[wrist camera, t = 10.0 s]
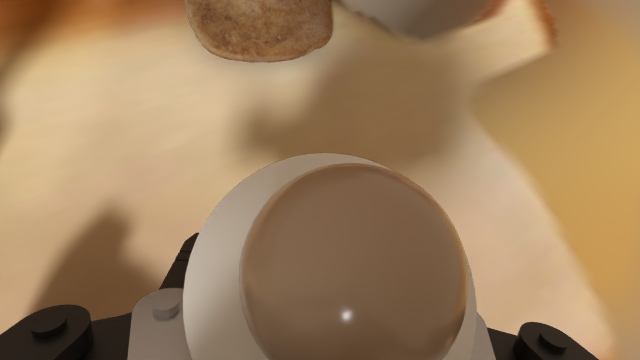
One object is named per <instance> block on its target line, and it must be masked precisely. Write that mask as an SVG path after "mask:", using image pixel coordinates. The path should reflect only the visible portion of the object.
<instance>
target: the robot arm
mask: <svg viewBox="0 0 640 360" xmlns="http://www.w3.org/2000/svg"><path fill="white" fill-rule="evenodd" d="M198 235H199V233H196V234H194V235H193V236H191V237H190V238H189V239H187V240H186V241H185V242H184V244H183V246H182V248H181V250H180V253H178V255H177V257H176V259H175V261H174V263H173V264H172V266H171V268H170V270H169V272H168V274H167V276H166V277H165V279H164V281H163V283H162V285H161V287H160V289H159V290H157V291H154V292H152V293H150V294H148V295H146V296H144V297H143V298H142V299H140V300H139V301H138V302H137V304H136V305H135V306H134V308H133V311H132V312H131V313H128V314H125V315H122V316H117V317H112V318H107V319H101V320H96V321H91V318H90V314H89V312H88V311H87V310H86V309H85V308H83V307H81V306H77V305H58V306H53V307H49V308H45V309H42V310H39V311H37V312H35V313H33V314H31V315H29V316H27V317H25V318H24V319H22V320H21V321H19V322H18V323H16V324H15V325H14V326H12V327H11V328H9V329H8V330H7V331H5V332H4V333H2V334H1V335H0V360H192V357H191V354H190V350H189V347H188V344H187V340H186V333H185V326H184V320H183V291H184V282H185V274H186V270H187V266H188V262H189V258H190V255H191V252H192V249H193V247H194V244H195V242H196V239H197V237H198ZM470 360H599V359H597V358H596V357H595V356H593V355H592V354H591V353H590V352H588V351H587V350H586V349H585V348H583V347H582V346H581V345H579V344H578V343H577V342H576V341H574V340H573V339H572V338H571V337H569V336H568V335H566V334H565V333H563V332H562V331H560V330H558V329H556V328H554V327H551V326H549V325H546V324H542V323H538V322H527V323H524V324H523V325H522V326H521V327H520V330H519V332H518V335H517V336H516V335H512V334H509V333H505V332H501V331H498V330H494V329H491V328H487V327H486V324H485V322H484V320H483V319H482V317H481V316H480V315H479V314H478V313H477V312H476V332H475V338H474V345H473V350H472V354H471V357H470Z"/></svg>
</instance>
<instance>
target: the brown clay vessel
mask: <svg viewBox="0 0 640 360" xmlns="http://www.w3.org/2000/svg"><path fill="white" fill-rule="evenodd" d="M184 2H185V6H186V11H187V15H188V19H189V22H190V25H191V27H192V29H193V31H194V33H195V35H196V37H197V38H198V40H199V41H200V43H201V44H202V46H203V47H204V48H205V49H207V50H208V51H209V52H211V53H212V54H214V55H216V56H219V57H222V58H225V59H228V60H237V61H245V62H278V61H286V60H292V59H296V58H299V57H302V56H304V55H306V54H308V53H309V52H311V51H312V50H313V49H318V48H321V47H323V46H324V45H325V44H326V43H327V41H328V40H329V38H330V34H331V13H330V4H329V0H184Z"/></svg>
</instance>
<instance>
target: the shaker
mask: <svg viewBox="0 0 640 360" xmlns="http://www.w3.org/2000/svg"><path fill="white" fill-rule="evenodd" d="M476 309H477V308H476V297H475V288H474V283H473V278H472V274H471V269H470V266H469V263H468V260H467V257H466V254H465V251H464V249H463V246H462V243H461V240H460V238H459V236H458V233H457V231H456V229H455V227H454V225H453V224H452V222H451V220H450V219H449V217H448V215H447V214H446V213H445V211H444V210H443V209H442V208H441V206H440V205H439V204H438V203H437V202H436V201H435V200H434V199H433V197H432V196H431V195H430V194H428V193H427V192H426V191H425V190H424V189H423V188H421V187H420V186H419V185H417V184H416V183H414V182H413V181H411V180H410V179H408V178H406V177H404V176H402V175H401V174H399V173H397V172H395V171H393V170H391V169H389V168H387V167H386V166H383V165H381V164H378V163H376V162H373V161H371V160H368V159H364V158H360V157H356V156H352V155H345V154H338V153H314V154H304V155H299V156H295V157H290V158H287V159H284V160H281V161H278V162H275V163H272V164H270V165H268V166H266V167H264V168H262V169H260V170H258V171H256V172H255V173H253V174H252V175H250V176H249V177H247V178H246V179H244V180H243V181H242V182H240V183H239V184H238V185H237V186H236V187H234V188H233V189H232V190H231V191H230V192H229V193H228V194H227V195H226V196H225V197H224V198H223V199H222V200H221V201H220V202H219V204H218V205H217V206H216V207H215V209H214V210H213V212H212V213H211V214H210V216H209V217H208V219H207V220H206V222H205V224H204V226H203V227H202V229H201V231H200V233H199V235H198V237H197V239H196V242H195V244H194V247H193V249H192V252H191V255H190V258H189V262H188V266H187V270H186V274H185V282H184V291H183V320H184V326H185V333H186V340H187V344H188V347H189V350H190V354H191V357H192V360H470V357H471V354H472V350H473V345H474V338H475V332H476Z"/></svg>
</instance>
